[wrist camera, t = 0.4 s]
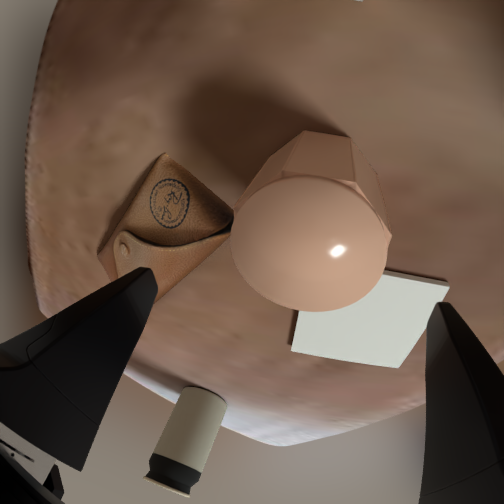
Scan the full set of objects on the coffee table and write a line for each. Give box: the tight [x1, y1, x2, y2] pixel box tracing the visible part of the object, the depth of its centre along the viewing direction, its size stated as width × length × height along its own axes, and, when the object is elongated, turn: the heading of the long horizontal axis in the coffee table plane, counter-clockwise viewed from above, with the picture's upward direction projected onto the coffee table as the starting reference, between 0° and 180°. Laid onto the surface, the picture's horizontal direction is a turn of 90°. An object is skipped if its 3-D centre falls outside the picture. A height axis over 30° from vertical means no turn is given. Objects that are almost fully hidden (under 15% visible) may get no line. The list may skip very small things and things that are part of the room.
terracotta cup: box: [230, 130, 392, 312], centre depth 16 cm, size 7×7×8 cm
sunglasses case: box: [97, 153, 234, 304], centre depth 26 cm, size 18×7×7 cm
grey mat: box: [291, 270, 450, 368], centre depth 25 cm, size 12×12×1 cm
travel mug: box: [143, 387, 227, 498], centre depth 38 cm, size 8×8×18 cm
